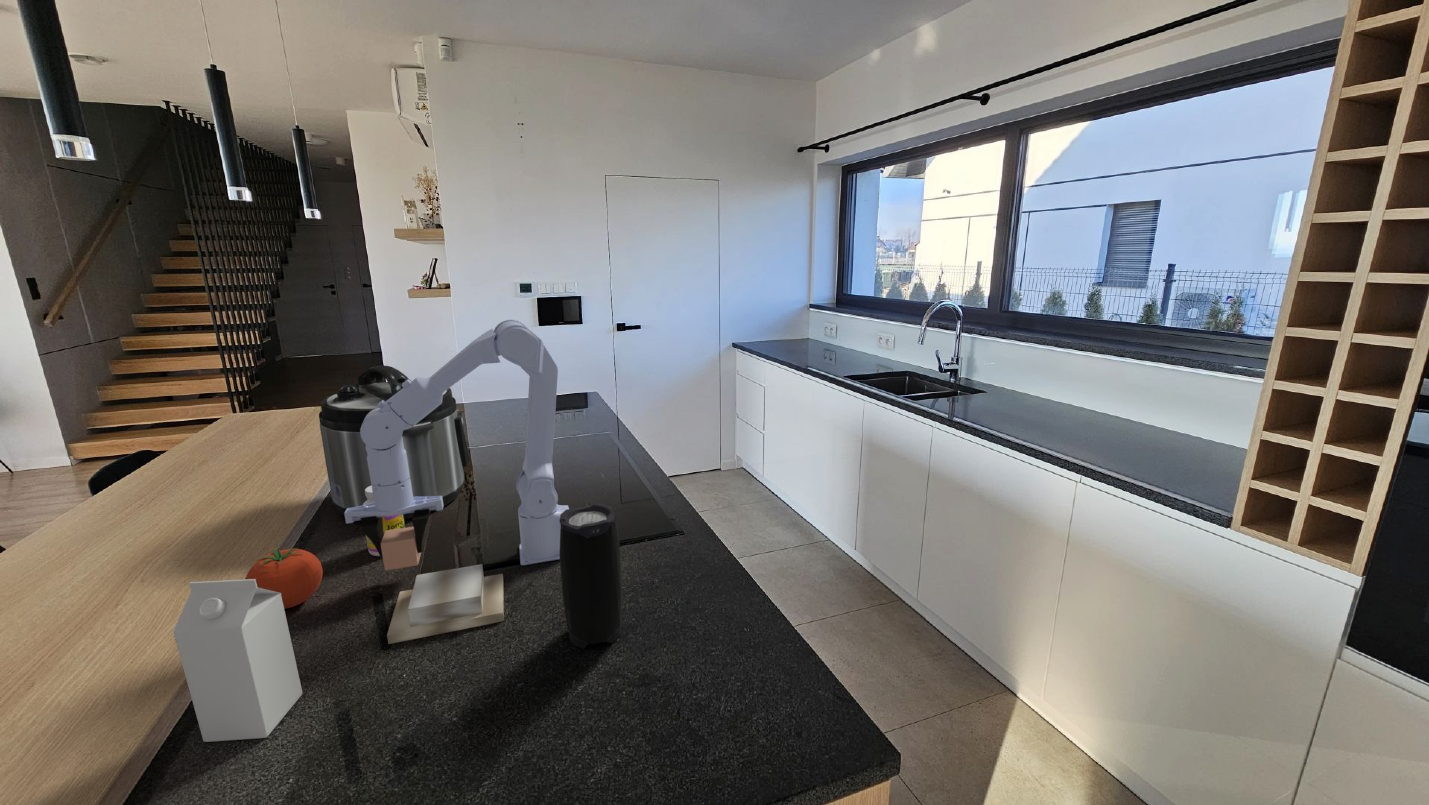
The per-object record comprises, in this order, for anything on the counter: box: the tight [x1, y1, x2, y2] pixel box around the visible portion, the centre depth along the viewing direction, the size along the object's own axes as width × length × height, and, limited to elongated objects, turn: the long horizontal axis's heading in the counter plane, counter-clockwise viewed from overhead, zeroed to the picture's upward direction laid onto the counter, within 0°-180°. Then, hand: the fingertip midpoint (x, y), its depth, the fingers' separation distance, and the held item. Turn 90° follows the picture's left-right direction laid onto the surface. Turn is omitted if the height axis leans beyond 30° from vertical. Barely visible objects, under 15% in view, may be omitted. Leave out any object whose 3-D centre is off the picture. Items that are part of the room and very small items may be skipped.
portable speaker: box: [559, 502, 623, 650], centre depth 84 cm, size 9×9×20 cm
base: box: [386, 563, 505, 645], centre depth 92 cm, size 16×12×4 cm
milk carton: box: [173, 579, 303, 743], centre depth 69 cm, size 7×7×19 cm
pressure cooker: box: [318, 364, 470, 522], centre depth 131 cm, size 30×28×32 cm
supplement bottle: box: [363, 485, 406, 557], centre depth 111 cm, size 7×7×13 cm
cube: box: [381, 526, 422, 571], centre depth 100 cm, size 5×5×5 cm
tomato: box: [244, 547, 324, 610], centre depth 93 cm, size 10×10×10 cm
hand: (402, 553), depth 100 cm, fingers closed on cube, 5 cm apart
